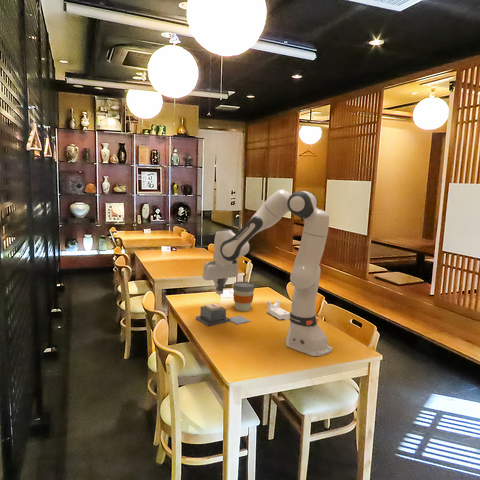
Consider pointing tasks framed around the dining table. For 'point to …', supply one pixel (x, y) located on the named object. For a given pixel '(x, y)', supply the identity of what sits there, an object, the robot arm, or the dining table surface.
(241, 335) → the dining table surface
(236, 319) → the rest mat
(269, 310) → the bracket
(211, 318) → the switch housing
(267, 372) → the dining table surface
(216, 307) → the button
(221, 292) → the stylus
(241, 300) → the reusable coffee cup
